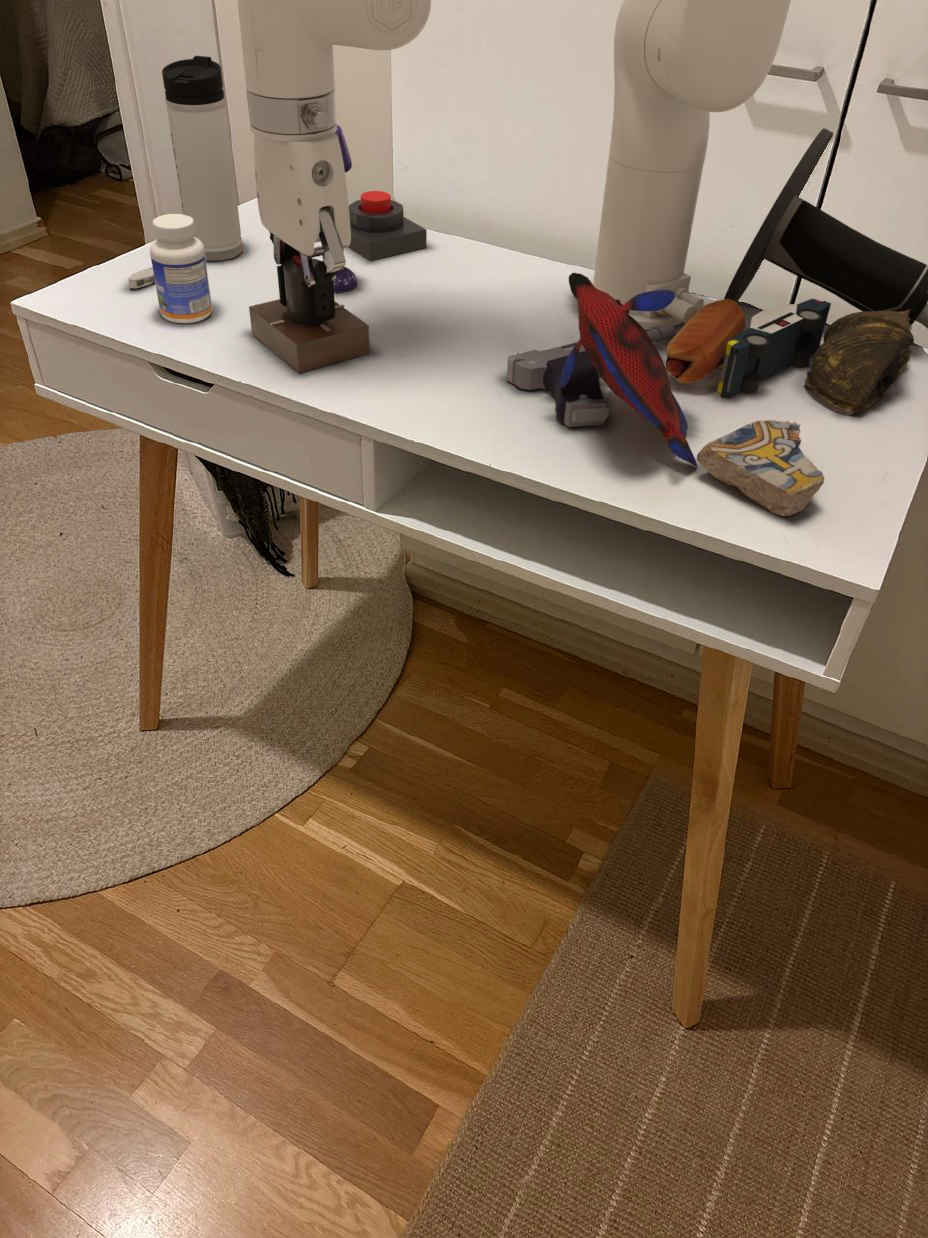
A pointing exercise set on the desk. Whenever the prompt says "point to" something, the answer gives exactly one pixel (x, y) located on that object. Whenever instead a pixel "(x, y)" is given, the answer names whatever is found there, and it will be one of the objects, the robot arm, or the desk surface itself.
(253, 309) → the dimmer panel
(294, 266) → the dimmer knob
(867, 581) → the desk surface
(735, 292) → the black flanged spool
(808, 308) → the toy car
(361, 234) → the switch block
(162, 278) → the pill bottle
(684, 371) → the hot dog
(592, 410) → the handgun
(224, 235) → the travel mug
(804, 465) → the ceramic tile fragment
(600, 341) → the fish
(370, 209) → the button
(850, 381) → the seashell
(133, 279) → the oval pebble
